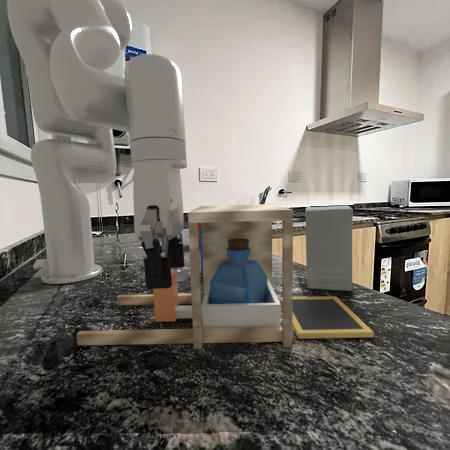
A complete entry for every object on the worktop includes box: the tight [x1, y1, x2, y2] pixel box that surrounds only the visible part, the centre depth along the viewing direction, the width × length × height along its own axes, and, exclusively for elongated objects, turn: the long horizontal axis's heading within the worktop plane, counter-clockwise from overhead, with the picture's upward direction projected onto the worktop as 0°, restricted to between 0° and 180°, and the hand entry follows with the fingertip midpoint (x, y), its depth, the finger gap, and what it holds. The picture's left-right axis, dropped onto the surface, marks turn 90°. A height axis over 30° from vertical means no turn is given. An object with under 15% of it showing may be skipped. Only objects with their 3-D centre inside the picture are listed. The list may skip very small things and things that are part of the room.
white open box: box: [152, 269, 282, 329], centre depth 39 cm, size 18×10×7 cm, turn 89°
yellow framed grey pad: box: [279, 295, 375, 340], centre depth 39 cm, size 10×12×1 cm
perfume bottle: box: [210, 238, 267, 304], centre depth 39 cm, size 6×6×12 cm
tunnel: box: [187, 203, 294, 350], centre depth 38 cm, size 12×15×17 cm
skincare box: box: [305, 205, 354, 292], centre depth 51 cm, size 8×7×16 cm
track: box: [76, 291, 295, 346], centre depth 39 cm, size 28×13×2 cm, turn 89°
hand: (168, 276), depth 38 cm, fingers open, 9 cm apart
